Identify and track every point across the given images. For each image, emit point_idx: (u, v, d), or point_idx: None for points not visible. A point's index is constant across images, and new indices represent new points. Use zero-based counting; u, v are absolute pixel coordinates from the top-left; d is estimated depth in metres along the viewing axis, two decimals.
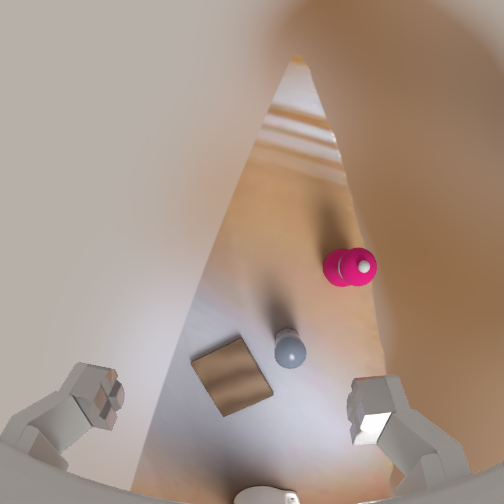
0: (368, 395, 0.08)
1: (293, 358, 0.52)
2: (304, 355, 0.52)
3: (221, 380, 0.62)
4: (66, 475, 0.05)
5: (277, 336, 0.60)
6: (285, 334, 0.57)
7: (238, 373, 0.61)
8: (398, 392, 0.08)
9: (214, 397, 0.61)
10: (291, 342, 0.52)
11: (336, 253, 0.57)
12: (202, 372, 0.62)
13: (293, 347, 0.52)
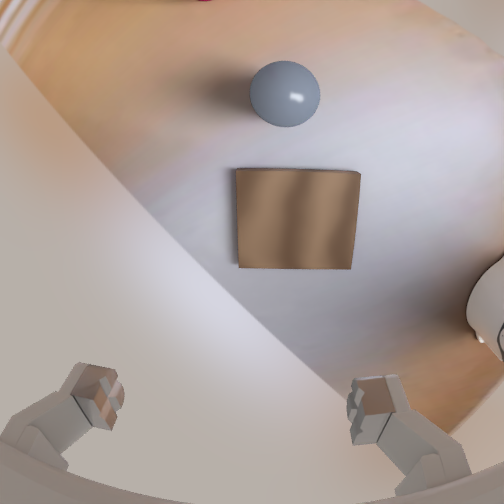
0: (368, 395, 0.08)
1: (297, 93, 0.22)
2: (304, 70, 0.21)
3: (289, 238, 0.37)
4: (66, 475, 0.05)
5: None
6: None
7: (292, 206, 0.35)
8: (398, 392, 0.08)
9: (311, 264, 0.38)
10: (262, 80, 0.22)
11: None
12: (262, 258, 0.39)
13: (274, 81, 0.21)
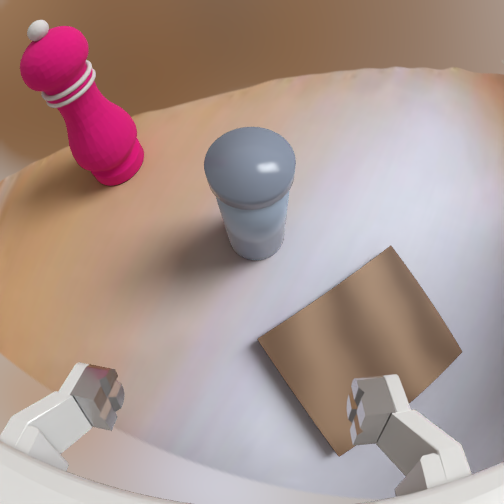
0: (368, 395, 0.08)
1: (262, 152, 0.18)
2: (253, 129, 0.19)
3: (376, 375, 0.22)
4: (66, 475, 0.05)
5: (240, 246, 0.25)
6: None
7: (351, 335, 0.24)
8: (398, 392, 0.08)
9: (421, 383, 0.22)
10: (215, 162, 0.18)
11: (69, 142, 0.26)
12: None
13: (230, 155, 0.18)
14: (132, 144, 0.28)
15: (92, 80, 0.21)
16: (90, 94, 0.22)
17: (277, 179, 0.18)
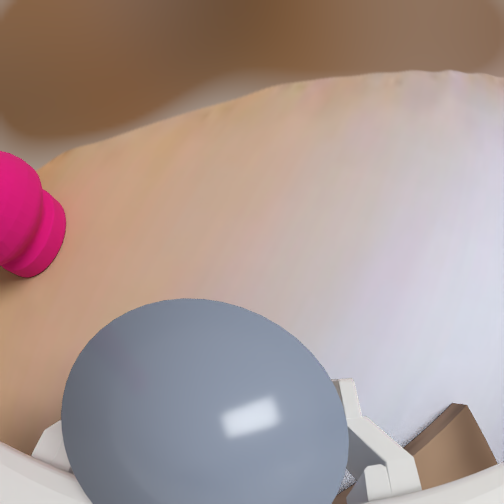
0: None
1: (233, 424, 0.05)
2: (201, 311, 0.05)
3: None
4: (66, 475, 0.05)
5: None
6: None
7: None
8: (351, 397, 0.08)
9: None
10: (88, 433, 0.05)
11: None
12: None
13: (126, 421, 0.05)
14: (31, 223, 0.15)
15: None
16: None
17: None
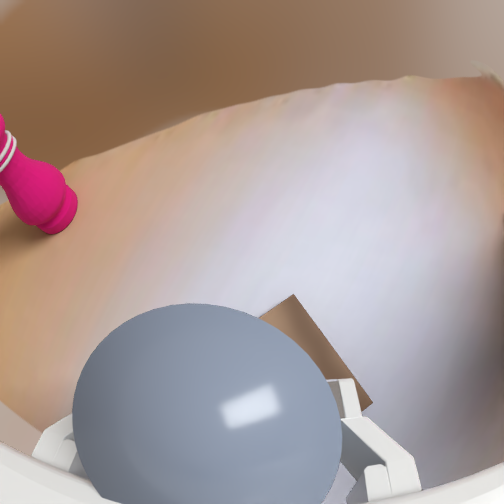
0: None
1: (235, 420, 0.05)
2: (206, 315, 0.06)
3: None
4: (66, 475, 0.05)
5: None
6: None
7: None
8: (351, 397, 0.08)
9: None
10: (98, 429, 0.05)
11: None
12: None
13: (134, 417, 0.05)
14: (60, 199, 0.29)
15: (12, 152, 0.22)
16: (14, 163, 0.23)
17: None
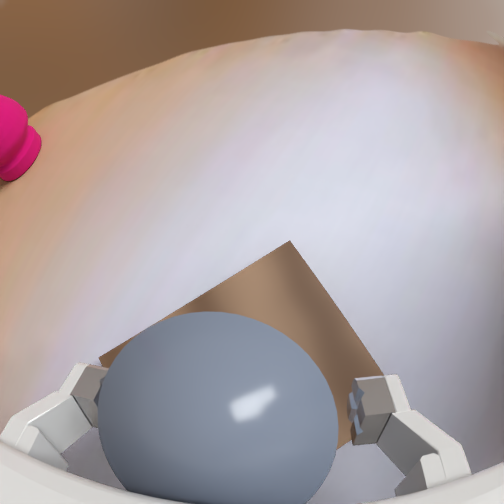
0: (368, 395, 0.08)
1: (246, 412, 0.06)
2: (220, 322, 0.07)
3: None
4: (66, 475, 0.05)
5: None
6: None
7: None
8: (398, 392, 0.08)
9: None
10: (122, 424, 0.06)
11: None
12: None
13: (157, 412, 0.06)
14: (18, 136, 0.22)
15: None
16: None
17: (284, 491, 0.05)
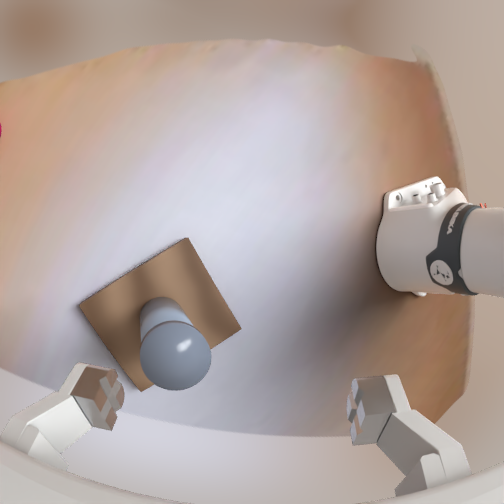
0: (368, 395, 0.08)
1: (186, 352, 0.22)
2: (178, 327, 0.22)
3: None
4: (66, 475, 0.05)
5: None
6: None
7: None
8: (398, 392, 0.08)
9: None
10: (149, 360, 0.21)
11: None
12: None
13: (160, 354, 0.22)
14: None
15: None
16: None
17: (197, 374, 0.23)
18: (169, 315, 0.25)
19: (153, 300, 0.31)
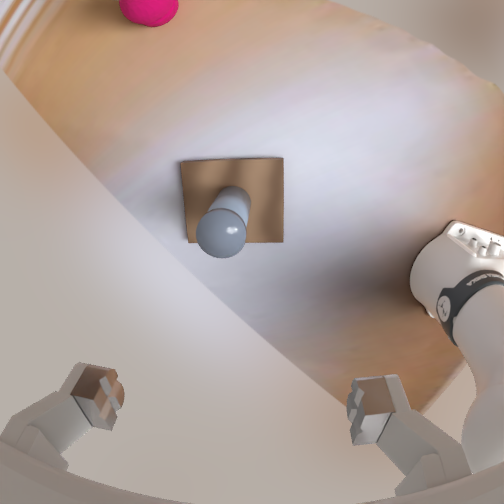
0: (368, 395, 0.08)
1: (229, 235, 0.34)
2: (232, 217, 0.33)
3: None
4: (66, 475, 0.05)
5: None
6: None
7: None
8: (398, 392, 0.08)
9: (248, 238, 0.46)
10: (203, 227, 0.33)
11: (119, 2, 0.27)
12: None
13: (212, 227, 0.33)
14: (165, 13, 0.31)
15: None
16: None
17: (227, 252, 0.35)
18: (234, 205, 0.36)
19: (233, 187, 0.42)
